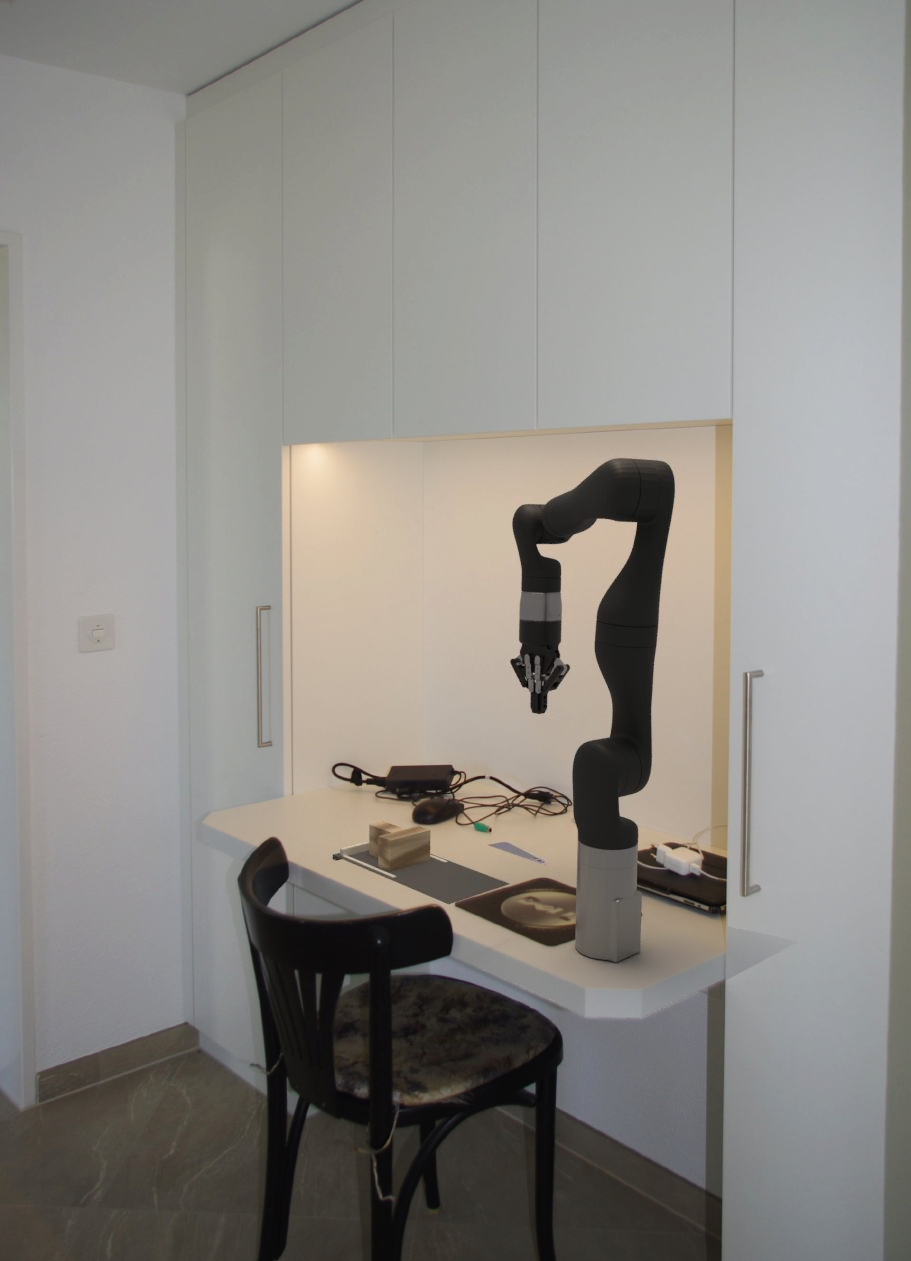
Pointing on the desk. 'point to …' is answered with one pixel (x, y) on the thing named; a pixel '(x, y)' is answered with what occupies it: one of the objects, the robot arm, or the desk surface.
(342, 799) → the desk surface
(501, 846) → the lavender triangular plate
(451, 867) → the desk mat
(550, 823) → the desk surface
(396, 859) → the T block
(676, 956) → the desk surface
